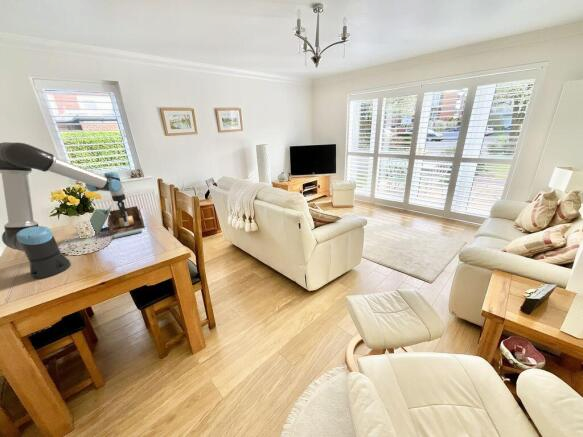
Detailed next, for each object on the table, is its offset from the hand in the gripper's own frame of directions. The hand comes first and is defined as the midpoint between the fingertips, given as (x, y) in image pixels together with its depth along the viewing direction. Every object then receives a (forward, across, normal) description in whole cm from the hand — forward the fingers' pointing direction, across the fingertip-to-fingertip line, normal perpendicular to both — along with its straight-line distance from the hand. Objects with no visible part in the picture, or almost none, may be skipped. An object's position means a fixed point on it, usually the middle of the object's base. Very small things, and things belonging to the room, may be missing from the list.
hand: (126, 222), depth 173 cm
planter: (+2, +10, +21) cm, 23 cm away
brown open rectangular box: (+4, 0, 0) cm, 4 cm away
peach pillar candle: (+2, 0, 0) cm, 3 cm away
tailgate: (+3, -11, 0) cm, 12 cm away
